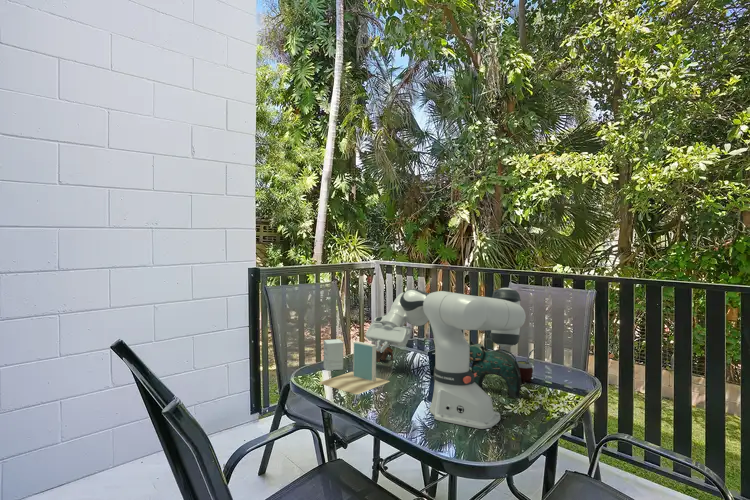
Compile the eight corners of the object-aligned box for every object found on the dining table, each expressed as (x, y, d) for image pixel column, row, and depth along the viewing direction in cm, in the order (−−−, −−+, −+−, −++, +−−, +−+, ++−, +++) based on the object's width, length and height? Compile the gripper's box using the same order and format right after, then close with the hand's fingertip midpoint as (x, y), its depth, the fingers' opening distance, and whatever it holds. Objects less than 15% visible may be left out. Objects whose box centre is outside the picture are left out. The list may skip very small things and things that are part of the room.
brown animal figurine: (368, 359, 205) (375, 343, 208) (385, 367, 207) (392, 351, 209) (375, 359, 194) (382, 342, 197) (393, 367, 195) (399, 350, 198)
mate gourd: (513, 378, 176) (513, 342, 176) (533, 380, 174) (533, 343, 174) (515, 384, 169) (515, 346, 169) (536, 386, 167) (536, 348, 167)
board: (390, 383, 167) (390, 381, 167) (357, 397, 151) (357, 394, 151) (352, 373, 179) (352, 371, 179) (317, 385, 163) (317, 382, 163)
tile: (375, 380, 168) (376, 345, 168) (372, 381, 166) (372, 345, 166) (356, 375, 174) (356, 341, 174) (353, 376, 172) (353, 342, 172)
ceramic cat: (465, 388, 163) (465, 336, 162) (472, 383, 168) (473, 333, 168) (517, 400, 151) (517, 344, 150) (523, 395, 156) (523, 340, 156)
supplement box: (339, 367, 189) (339, 338, 189) (343, 371, 182) (343, 342, 182) (323, 368, 187) (323, 339, 187) (326, 373, 180) (326, 343, 180)
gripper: (415, 331, 181) (402, 359, 173) (378, 325, 194) (364, 351, 186) (410, 322, 177) (396, 350, 170) (371, 317, 190) (357, 343, 183)
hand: (379, 350), depth 178 cm, fingers closed
